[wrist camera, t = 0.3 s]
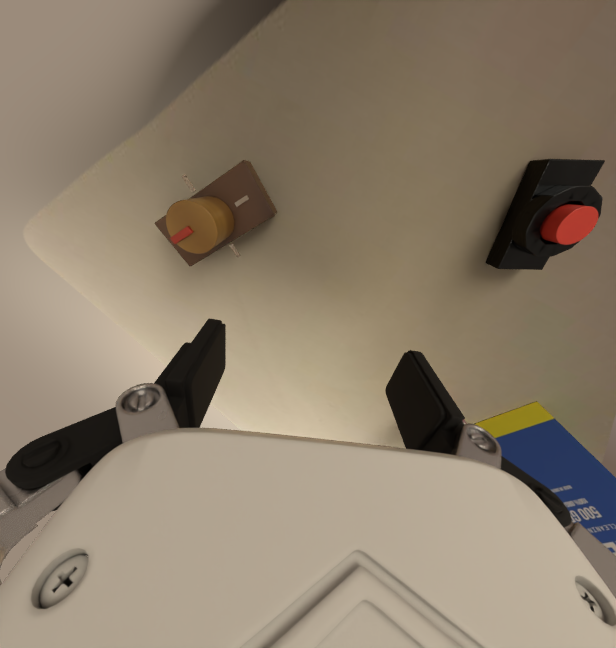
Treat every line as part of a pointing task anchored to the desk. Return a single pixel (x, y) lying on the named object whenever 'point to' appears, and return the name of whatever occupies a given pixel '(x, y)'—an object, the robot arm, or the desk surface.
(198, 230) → the knob
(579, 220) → the button
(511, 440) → the box
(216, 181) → the dial panel
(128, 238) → the desk surface
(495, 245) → the button housing
